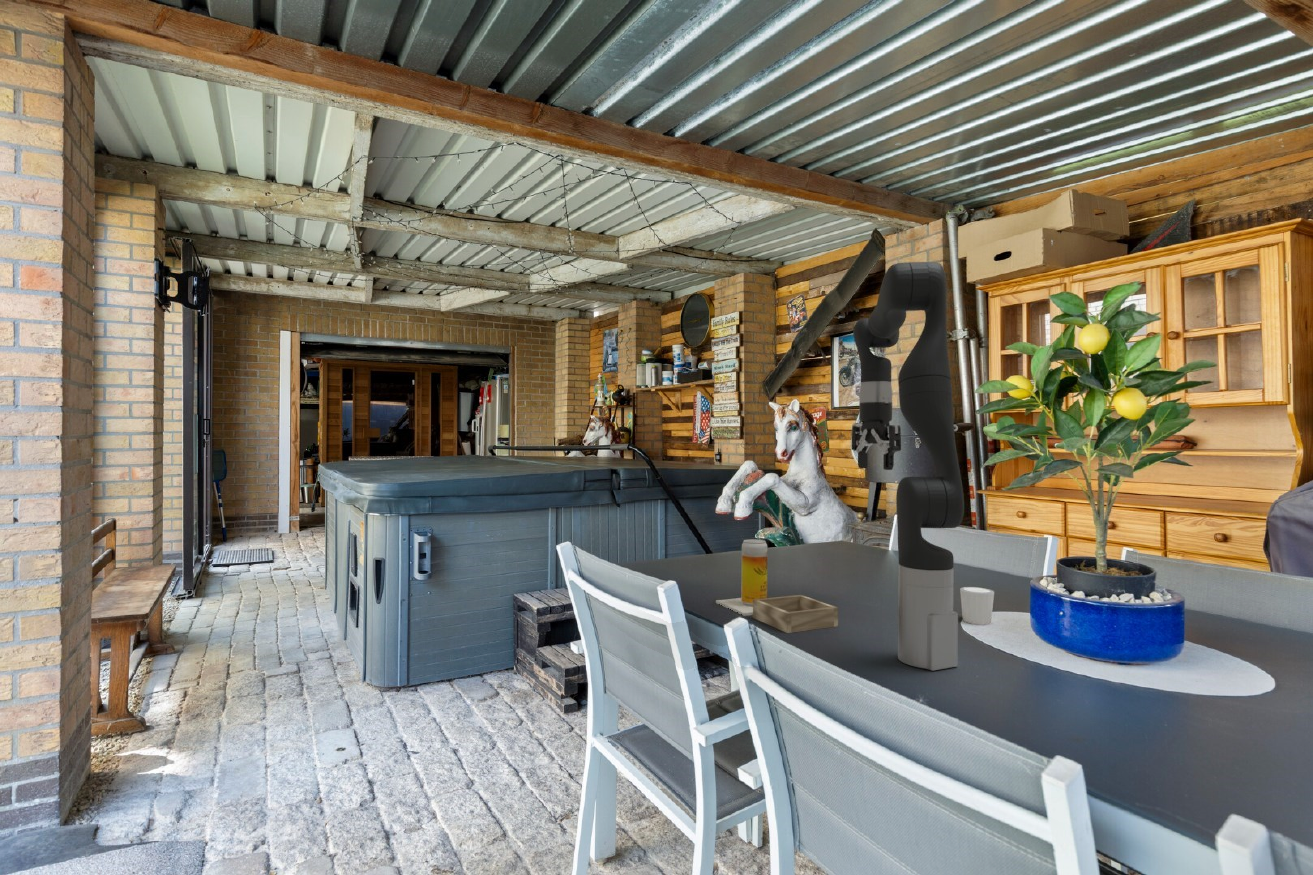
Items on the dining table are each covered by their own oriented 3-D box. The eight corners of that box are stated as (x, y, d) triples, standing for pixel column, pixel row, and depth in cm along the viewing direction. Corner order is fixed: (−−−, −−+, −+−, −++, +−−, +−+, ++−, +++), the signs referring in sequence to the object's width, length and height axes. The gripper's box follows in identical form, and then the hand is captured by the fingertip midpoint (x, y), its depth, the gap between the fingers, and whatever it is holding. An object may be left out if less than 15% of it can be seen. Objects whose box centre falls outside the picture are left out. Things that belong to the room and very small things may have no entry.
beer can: (766, 607, 157) (766, 543, 157) (740, 606, 159) (740, 542, 159) (767, 601, 163) (768, 539, 163) (742, 600, 164) (742, 538, 164)
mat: (792, 610, 157) (792, 607, 157) (744, 615, 152) (744, 613, 152) (761, 598, 169) (761, 595, 169) (715, 602, 164) (715, 600, 164)
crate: (837, 626, 144) (837, 607, 144) (787, 633, 139) (787, 613, 139) (800, 611, 156) (800, 594, 156) (752, 617, 151) (753, 599, 151)
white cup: (987, 617, 153) (987, 586, 153) (999, 626, 146) (999, 593, 146) (955, 616, 153) (955, 585, 153) (966, 624, 146) (966, 592, 146)
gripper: (843, 402, 167) (843, 468, 167) (885, 399, 154) (884, 470, 154) (867, 403, 170) (866, 467, 170) (909, 400, 157) (909, 470, 157)
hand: (875, 469), depth 162 cm, fingers open, 8 cm apart
